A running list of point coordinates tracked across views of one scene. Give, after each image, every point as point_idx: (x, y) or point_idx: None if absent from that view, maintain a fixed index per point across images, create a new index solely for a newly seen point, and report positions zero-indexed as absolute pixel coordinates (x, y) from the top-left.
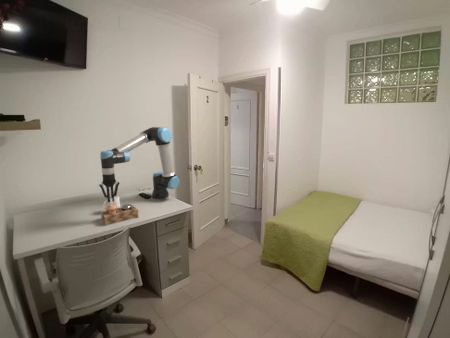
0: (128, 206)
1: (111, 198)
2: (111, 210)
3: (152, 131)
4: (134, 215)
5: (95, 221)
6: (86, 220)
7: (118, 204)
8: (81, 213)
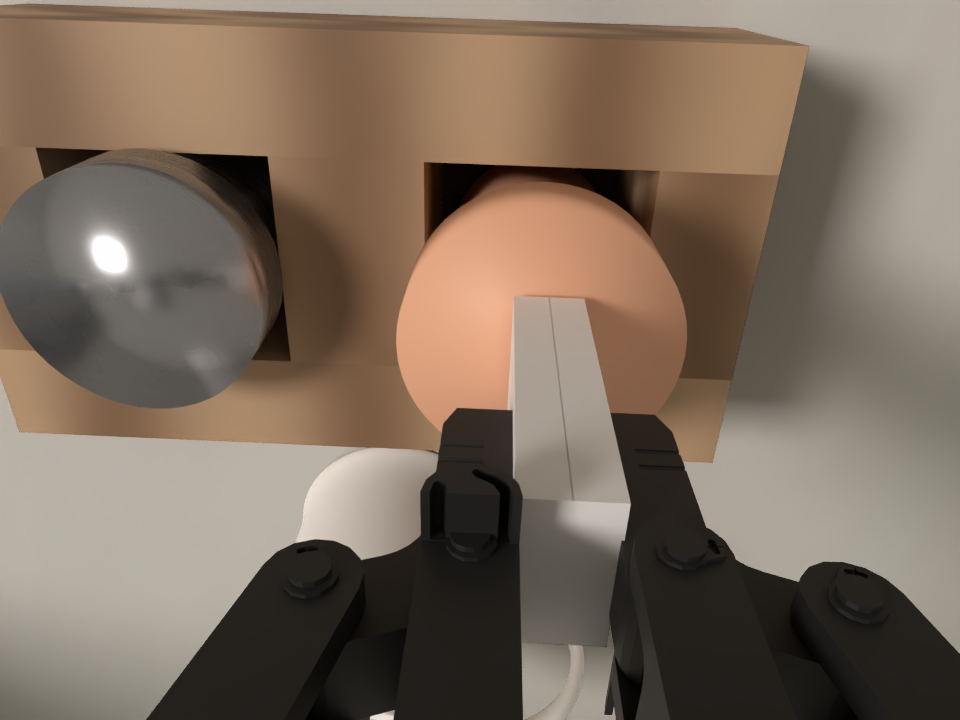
0: (80, 201)
1: (555, 479)
2: (587, 194)
3: None
4: (76, 9)
5: (788, 344)
6: (869, 466)
7: None
8: None
